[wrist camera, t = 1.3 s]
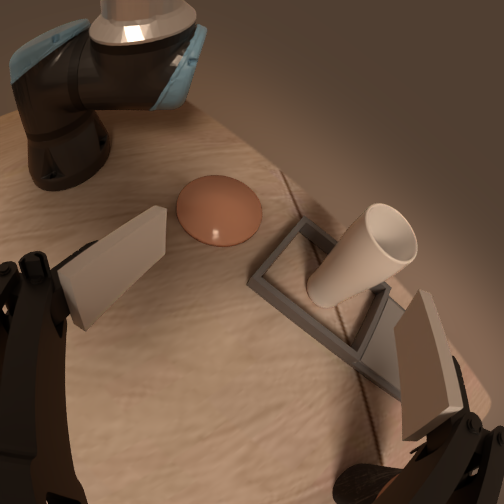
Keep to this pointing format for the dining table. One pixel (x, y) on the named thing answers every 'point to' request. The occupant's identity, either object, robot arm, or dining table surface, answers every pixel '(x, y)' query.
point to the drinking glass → (364, 256)
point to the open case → (357, 356)
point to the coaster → (219, 211)
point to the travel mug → (363, 483)
